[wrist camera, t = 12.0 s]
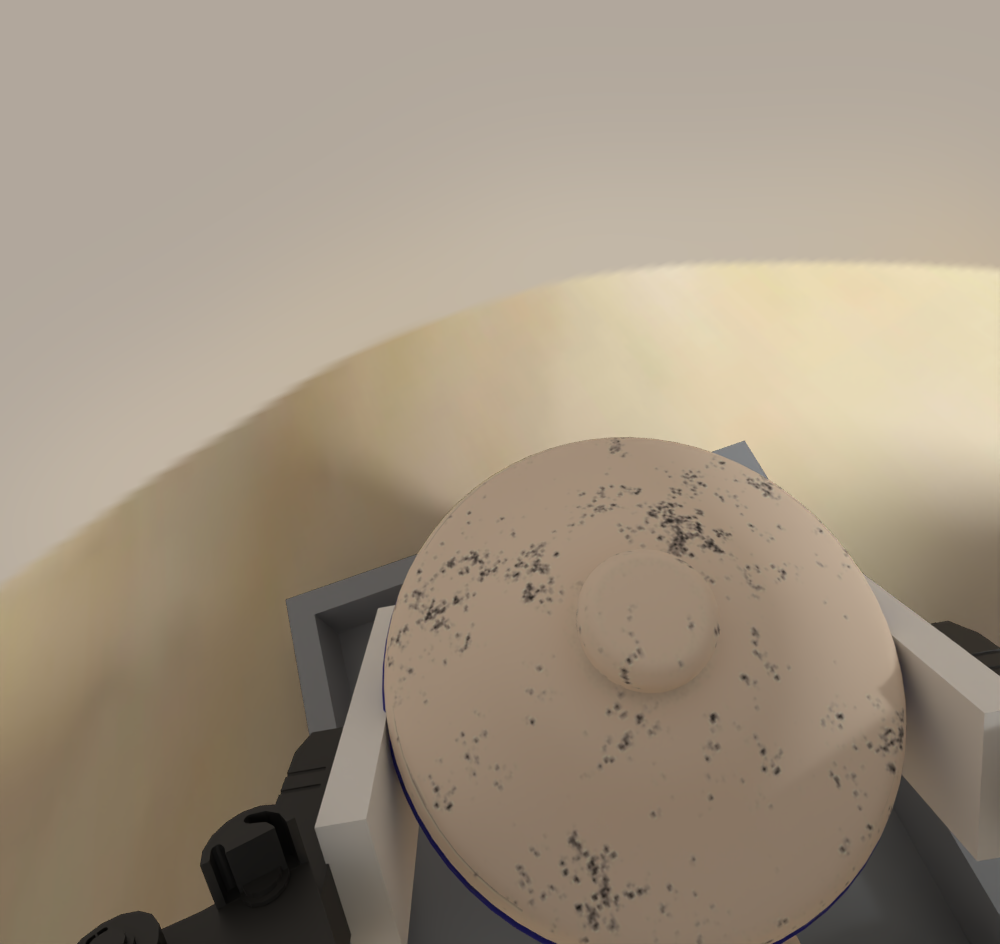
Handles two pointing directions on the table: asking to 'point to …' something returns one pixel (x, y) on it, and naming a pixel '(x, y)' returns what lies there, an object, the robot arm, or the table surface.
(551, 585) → the teacup with lid
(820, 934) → the tray
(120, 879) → the table surface
